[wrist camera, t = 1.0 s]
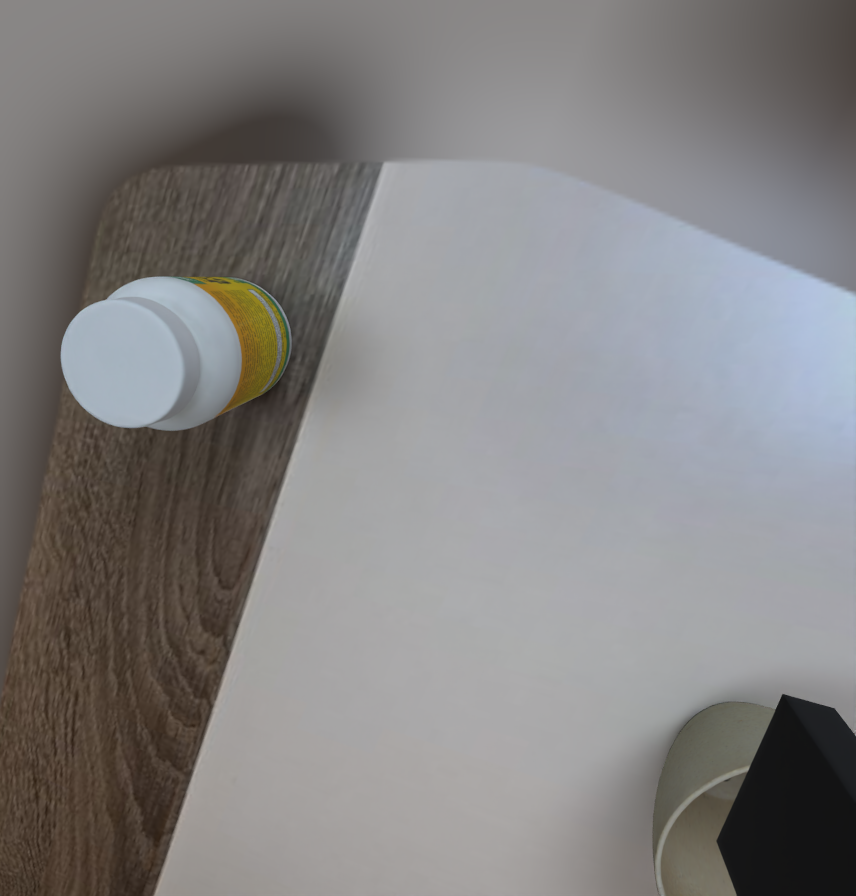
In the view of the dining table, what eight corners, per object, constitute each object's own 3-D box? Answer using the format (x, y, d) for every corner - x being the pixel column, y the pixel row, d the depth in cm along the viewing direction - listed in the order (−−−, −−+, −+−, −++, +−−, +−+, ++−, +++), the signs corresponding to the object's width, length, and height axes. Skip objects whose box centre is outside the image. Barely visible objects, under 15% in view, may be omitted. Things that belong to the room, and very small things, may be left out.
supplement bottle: (210, 415, 31) (86, 474, 22) (158, 303, 30) (5, 316, 21) (315, 373, 30) (232, 416, 21) (265, 257, 29) (154, 247, 20)
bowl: (709, 615, 31) (769, 712, 24) (889, 727, 31) (999, 855, 24) (582, 766, 33) (603, 893, 27) (750, 867, 34) (814, 1019, 27)
